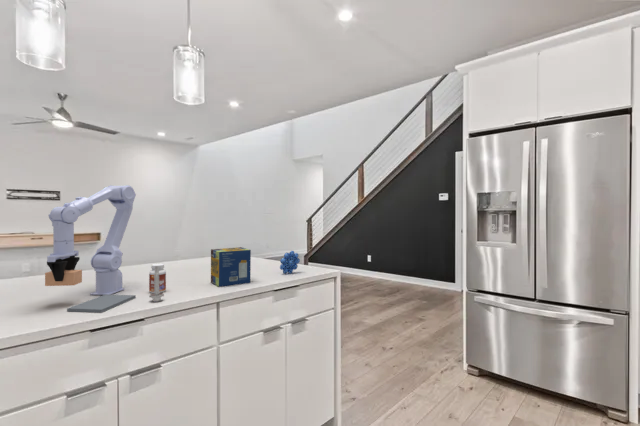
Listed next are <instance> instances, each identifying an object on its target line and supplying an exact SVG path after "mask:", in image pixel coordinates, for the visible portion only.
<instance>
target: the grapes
mask: <svg viewBox="0 0 640 426" xmlns="http://www.w3.org/2000/svg"><path fill="white" fill-rule="evenodd" d="M300 261H301V260H300V258H299V253H298V252H295V251H294V250H290V251H289V252H285V253H284V255H283V257H281V258H280V266H279V269H280V270H282V273H283V274H288V275H289V274H292V273H293V272H294V271H295V270H297V269H298V264H300Z"/></svg>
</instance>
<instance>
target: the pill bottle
mask: <svg viewBox="0 0 640 426" xmlns="http://www.w3.org/2000/svg"><path fill="white" fill-rule="evenodd" d="M156 266H158V267H159V282H160V283H159V285H160V286H159V293H164V292H166V291H167V271H166V269H164V268H165V264H164V263H153V264H151V266H150V268H151V270H150V271H149V274H148V277H149V279H148V281H149V282H148V283H149V285H148V290H149V293H151V294H154V274H155V267H156Z"/></svg>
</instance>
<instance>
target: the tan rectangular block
mask: <svg viewBox="0 0 640 426" xmlns="http://www.w3.org/2000/svg"><path fill="white" fill-rule="evenodd" d="M81 283H83V270H82V269H75V270H65V271H64V278H63V281H55V279H54V276H53V273H52V271H51V270H50V271H47V272H45V273H44V286H45V287H58V286H59V287H63V286H76V285H78V284H81Z"/></svg>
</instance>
